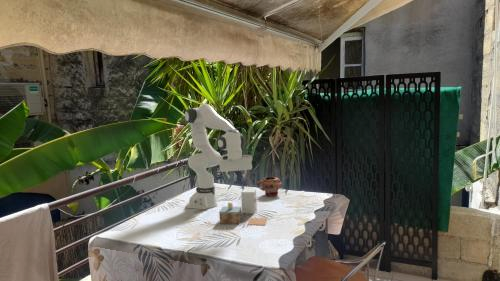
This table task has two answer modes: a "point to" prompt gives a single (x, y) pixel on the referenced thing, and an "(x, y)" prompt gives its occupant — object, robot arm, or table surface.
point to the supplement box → (249, 201)
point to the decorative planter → (270, 186)
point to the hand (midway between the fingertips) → (236, 177)
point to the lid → (230, 209)
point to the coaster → (257, 221)
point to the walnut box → (230, 218)
